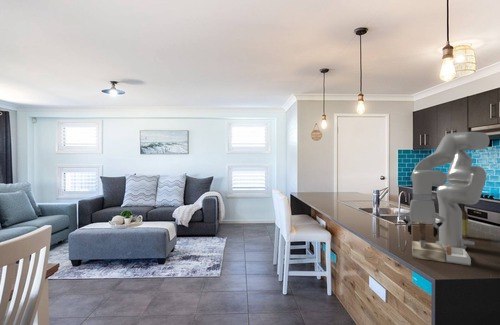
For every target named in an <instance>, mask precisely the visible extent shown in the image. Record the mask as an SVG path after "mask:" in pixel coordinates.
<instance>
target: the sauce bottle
mask: <svg viewBox="0 0 500 325" xmlns="http://www.w3.org/2000/svg"><path fill="white" fill-rule="evenodd" d="M457 204H458V206H459V207H460V209H461V211H462V238H463V239H465V238H466V239H467V238H469V234H470V233H469V216H468V212H467V211H466V208H465V206H466V204H461V203H457Z"/></svg>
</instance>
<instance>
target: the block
mask: <svg viewBox="0 0 500 325" xmlns="http://www.w3.org/2000/svg"><path fill="white" fill-rule="evenodd" d="M446 252H447V254H448V255H451V246H450V245H446Z"/></svg>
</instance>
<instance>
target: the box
mask: <svg viewBox="0 0 500 325" xmlns="http://www.w3.org/2000/svg"><path fill="white" fill-rule="evenodd" d="M443 248H444V251H445V255H446V262H445V263H449V264H458V265H463V266H469V267H471V266H472V262H471V261H472V259H471V258H472V257H470V255H469V253H468V252H467V251H466V249H460V248H451V255H448V254H447V252H446V247H443Z"/></svg>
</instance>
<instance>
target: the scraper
mask: <svg viewBox="0 0 500 325" xmlns="http://www.w3.org/2000/svg"><path fill="white" fill-rule="evenodd" d="M418 223H419V222H418ZM426 224H427V223H419V224H418V226H419V227H418V230H419V233H418V235H419V236H418V237H419V242H420V246H421V248H424V249H425V242H426V240H427V239H426V237H427V236H426V234H427V233H426V232H427V231H426V230H427V229H426Z"/></svg>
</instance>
